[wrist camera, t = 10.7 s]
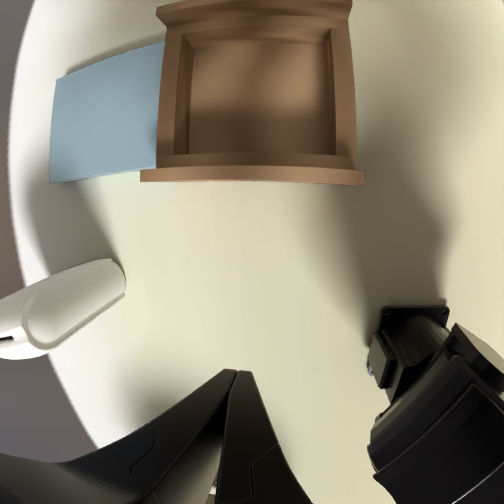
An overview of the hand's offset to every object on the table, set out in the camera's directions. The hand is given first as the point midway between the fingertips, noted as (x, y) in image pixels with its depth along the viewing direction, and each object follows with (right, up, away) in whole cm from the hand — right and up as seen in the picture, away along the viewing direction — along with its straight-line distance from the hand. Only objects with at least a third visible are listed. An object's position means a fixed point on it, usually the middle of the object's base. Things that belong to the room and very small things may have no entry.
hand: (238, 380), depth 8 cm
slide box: (+1, +15, +10) cm, 18 cm away
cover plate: (-11, +15, +12) cm, 22 cm away
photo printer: (-15, +1, +16) cm, 22 cm away
